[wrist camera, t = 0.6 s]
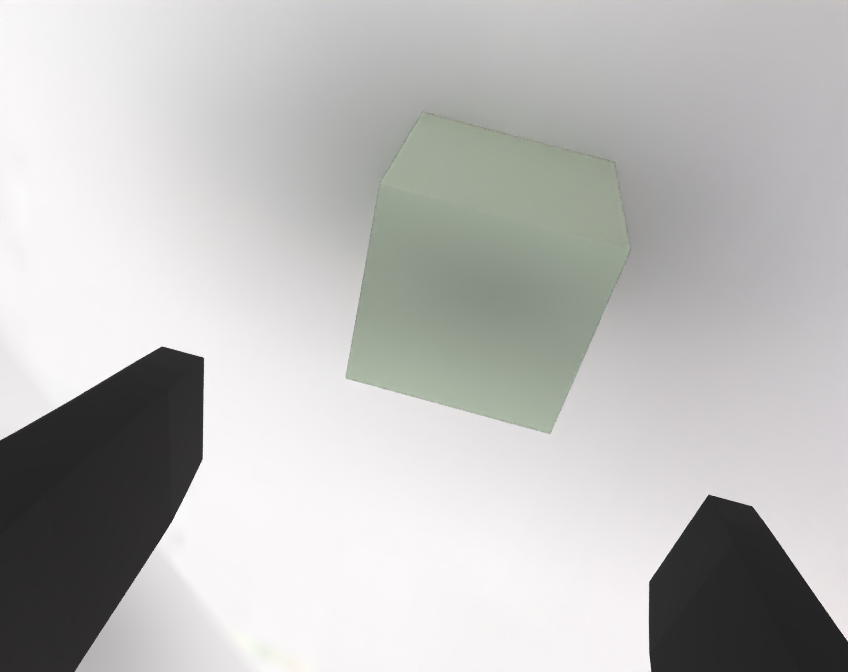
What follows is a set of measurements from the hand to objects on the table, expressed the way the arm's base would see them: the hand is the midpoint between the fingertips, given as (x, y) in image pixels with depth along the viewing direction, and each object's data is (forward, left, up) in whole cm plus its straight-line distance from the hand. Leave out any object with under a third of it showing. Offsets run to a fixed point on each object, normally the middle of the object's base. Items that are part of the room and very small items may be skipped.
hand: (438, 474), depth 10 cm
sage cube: (0, 0, -9) cm, 9 cm away
